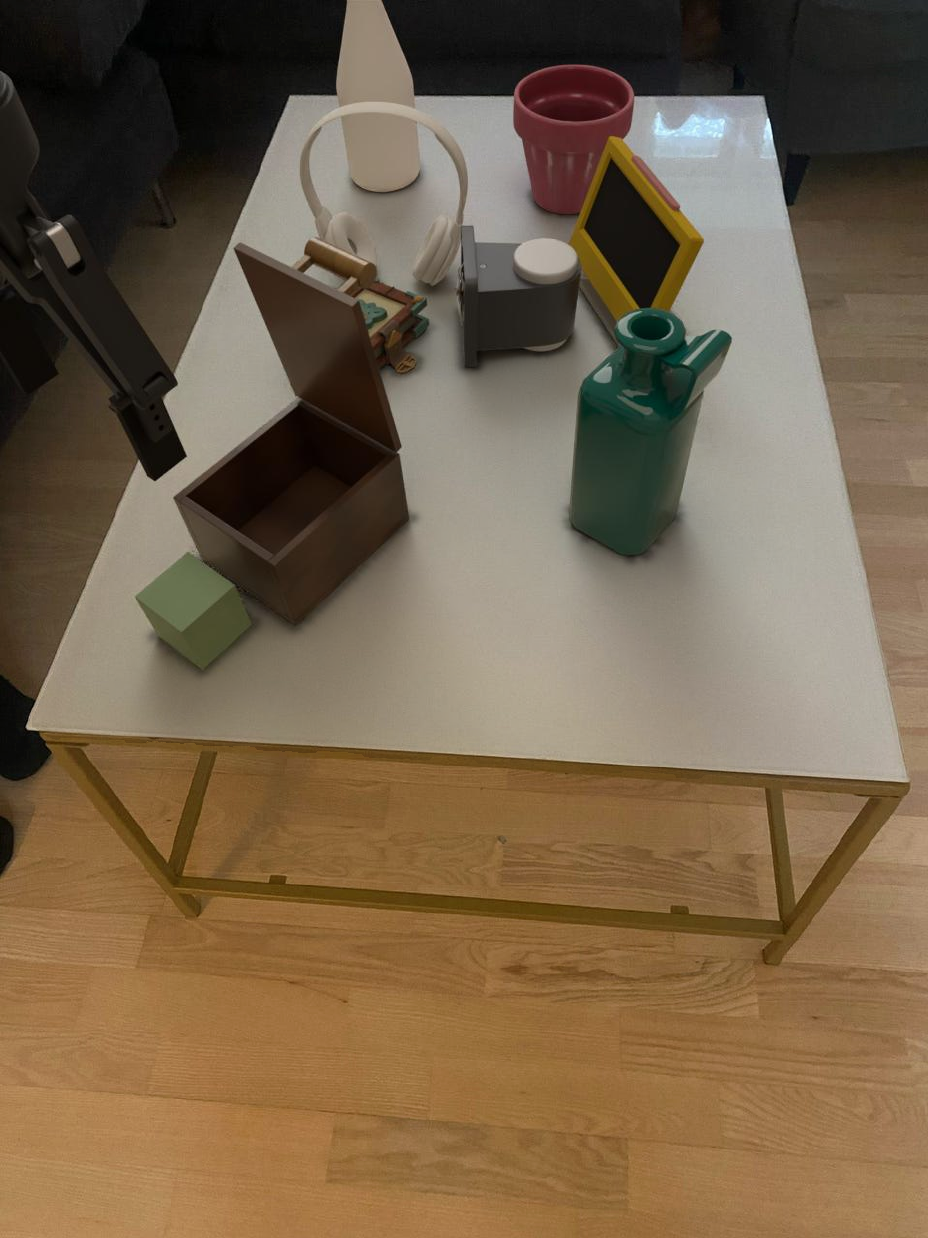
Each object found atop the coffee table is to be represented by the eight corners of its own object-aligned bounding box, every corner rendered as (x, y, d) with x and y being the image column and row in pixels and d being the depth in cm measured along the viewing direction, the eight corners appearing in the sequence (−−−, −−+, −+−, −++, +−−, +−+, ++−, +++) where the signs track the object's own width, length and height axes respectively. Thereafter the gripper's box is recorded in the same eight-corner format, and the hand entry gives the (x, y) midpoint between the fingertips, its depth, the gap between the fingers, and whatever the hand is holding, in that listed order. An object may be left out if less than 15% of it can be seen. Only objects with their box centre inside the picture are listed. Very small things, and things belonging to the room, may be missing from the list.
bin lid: (352, 307, 65) (403, 258, 66) (232, 247, 69) (283, 203, 71) (396, 453, 79) (437, 409, 81) (295, 395, 84) (335, 355, 86)
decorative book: (257, 383, 99) (246, 346, 95) (357, 296, 107) (351, 259, 102) (351, 428, 94) (344, 391, 90) (449, 335, 102) (446, 297, 98)
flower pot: (644, 184, 117) (657, 80, 106) (587, 239, 111) (595, 134, 100) (551, 154, 122) (554, 52, 111) (492, 204, 116) (489, 102, 105)
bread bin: (296, 626, 80) (274, 566, 73) (202, 560, 85) (172, 497, 78) (409, 518, 87) (399, 453, 79) (316, 462, 92) (298, 396, 84)
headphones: (467, 299, 105) (458, 126, 89) (315, 292, 107) (278, 122, 91) (475, 262, 109) (468, 90, 93) (329, 256, 111) (296, 87, 95)
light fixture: (577, 368, 98) (589, 281, 89) (457, 371, 98) (456, 284, 89) (567, 306, 105) (577, 218, 96) (453, 308, 104) (453, 221, 95)
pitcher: (560, 522, 85) (571, 331, 67) (610, 470, 89) (634, 274, 71) (647, 572, 82) (685, 384, 64) (696, 515, 85) (746, 321, 67)
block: (202, 670, 78) (181, 632, 73) (157, 635, 80) (134, 596, 75) (252, 624, 81) (235, 584, 76) (207, 592, 83) (187, 551, 78)
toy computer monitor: (565, 272, 107) (572, 140, 94) (626, 257, 108) (641, 124, 95) (633, 378, 96) (652, 245, 83) (700, 361, 97) (729, 227, 84)
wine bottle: (369, 202, 118) (329, -72, 93) (339, 169, 122) (294, -100, 98) (433, 180, 120) (411, -94, 95) (401, 148, 125) (372, -120, 100)
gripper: (158, 130, 39) (271, 469, 57) (-139, -1, 49) (35, 323, 66) (16, 213, 36) (181, 544, 54) (-272, 55, 46) (-52, 380, 63)
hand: (101, 423), depth 60 cm, fingers open, 13 cm apart
